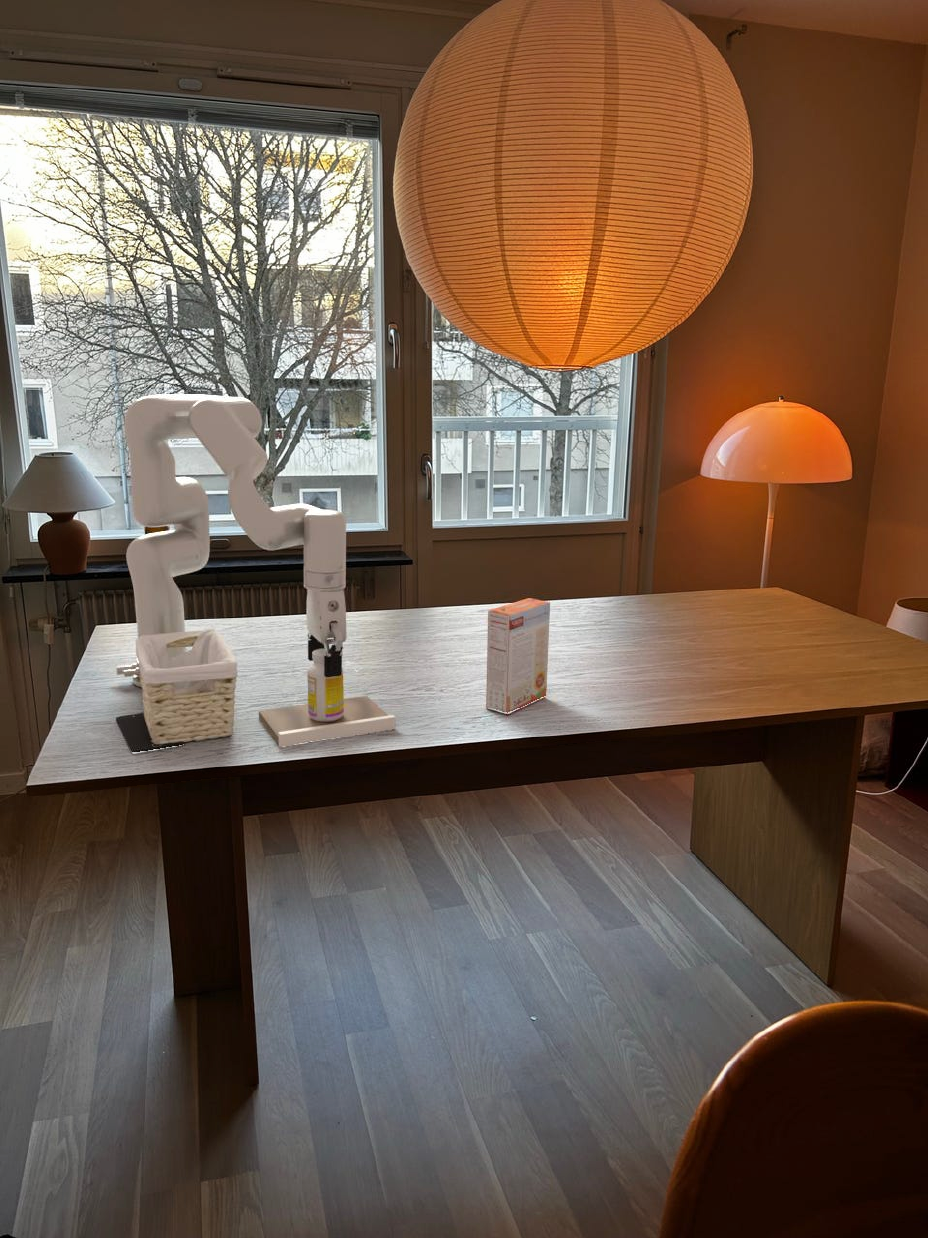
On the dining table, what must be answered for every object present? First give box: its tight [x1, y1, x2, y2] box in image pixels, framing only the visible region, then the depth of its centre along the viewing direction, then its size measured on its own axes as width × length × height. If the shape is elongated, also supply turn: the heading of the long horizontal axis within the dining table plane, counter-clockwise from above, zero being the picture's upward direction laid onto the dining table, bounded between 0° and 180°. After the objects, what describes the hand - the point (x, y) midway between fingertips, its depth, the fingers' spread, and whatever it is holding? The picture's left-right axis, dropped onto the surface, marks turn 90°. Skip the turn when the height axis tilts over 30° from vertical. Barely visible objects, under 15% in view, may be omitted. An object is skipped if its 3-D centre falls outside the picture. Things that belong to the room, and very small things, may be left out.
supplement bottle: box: [307, 649, 345, 722], centre depth 168 cm, size 7×7×13 cm
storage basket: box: [135, 628, 238, 744], centre depth 168 cm, size 24×16×15 cm
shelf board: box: [258, 695, 389, 745], centre depth 170 cm, size 22×14×2 cm, turn 117°
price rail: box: [278, 714, 396, 748], centre depth 164 cm, size 22×1×2 cm, turn 117°
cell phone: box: [115, 712, 185, 752], centre depth 164 cm, size 9×18×1 cm, turn 29°
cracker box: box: [485, 597, 551, 713], centre depth 181 cm, size 14×6×21 cm, turn 141°
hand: (324, 667), depth 167 cm, fingers open, 9 cm apart
